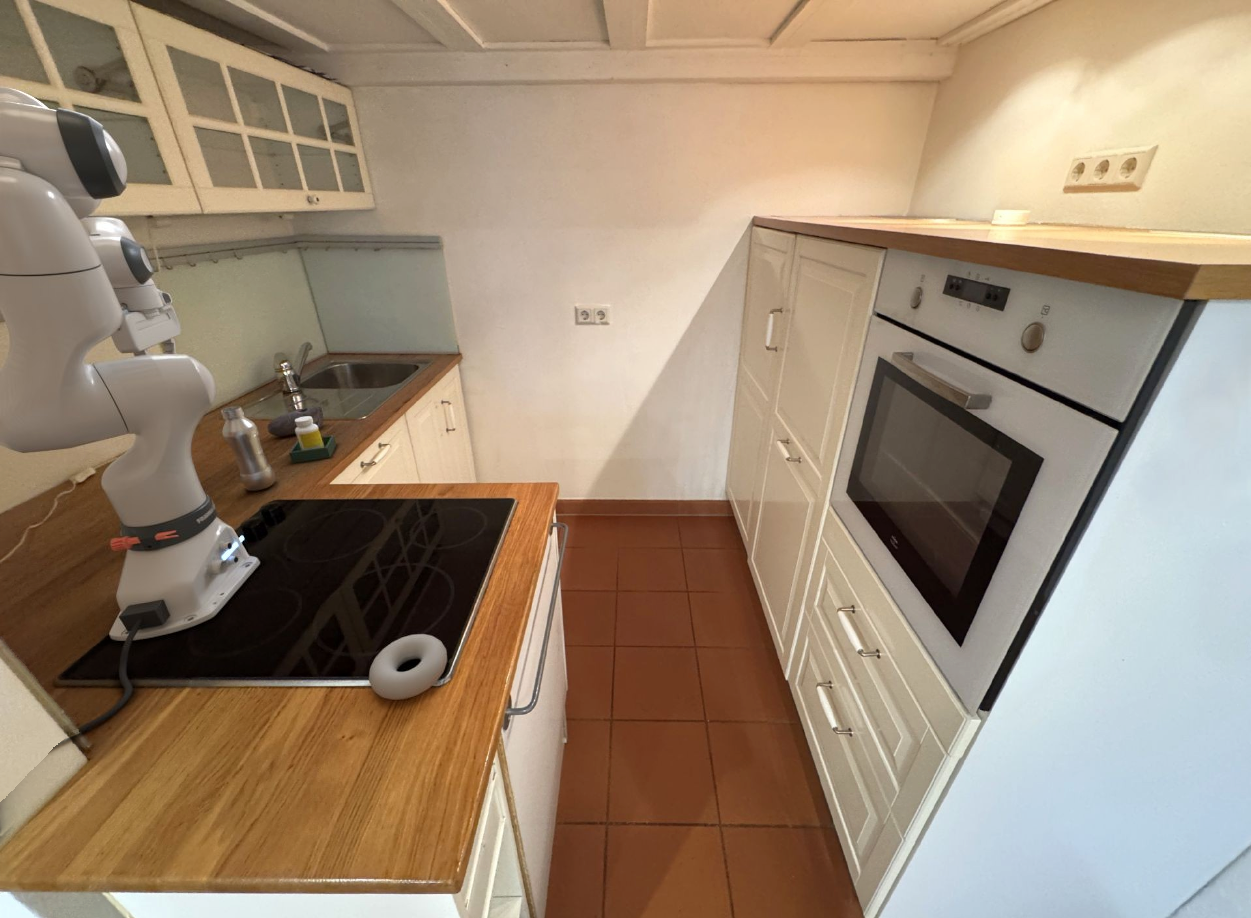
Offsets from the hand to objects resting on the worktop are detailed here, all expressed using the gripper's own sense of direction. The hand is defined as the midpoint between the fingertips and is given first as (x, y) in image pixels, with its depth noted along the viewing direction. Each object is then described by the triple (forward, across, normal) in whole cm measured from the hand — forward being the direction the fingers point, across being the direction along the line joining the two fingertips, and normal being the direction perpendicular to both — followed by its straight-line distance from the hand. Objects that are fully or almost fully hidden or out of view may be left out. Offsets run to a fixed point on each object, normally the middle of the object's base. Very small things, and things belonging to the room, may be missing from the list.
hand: (162, 363), depth 113 cm
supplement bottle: (+29, +6, -22) cm, 37 cm away
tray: (+29, +6, -22) cm, 37 cm away
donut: (+29, -82, -52) cm, 101 cm away
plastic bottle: (+29, -11, -14) cm, 34 cm away
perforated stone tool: (+29, +25, -14) cm, 41 cm away
